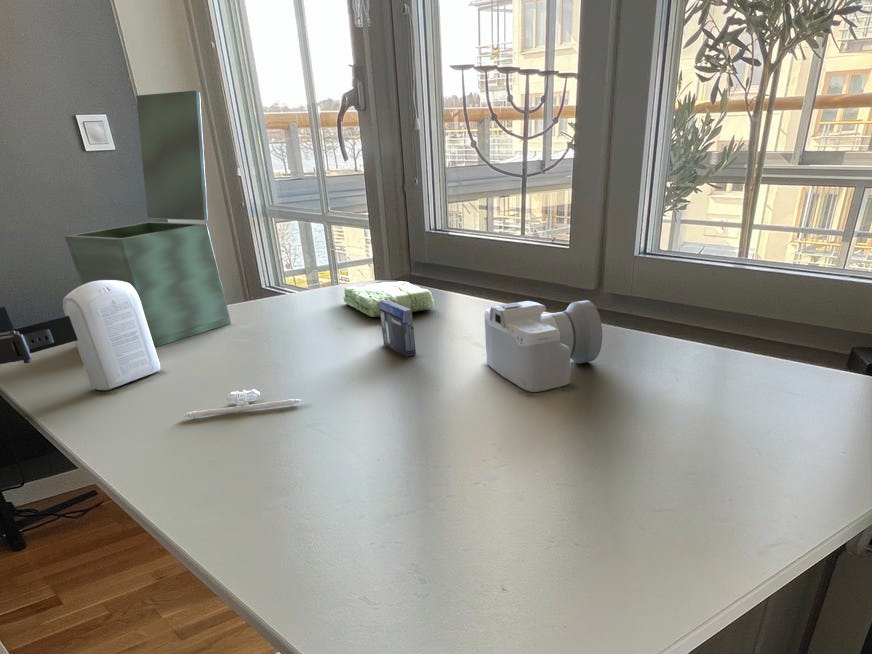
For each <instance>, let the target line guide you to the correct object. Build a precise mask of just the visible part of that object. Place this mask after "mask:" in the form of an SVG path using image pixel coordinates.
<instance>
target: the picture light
mask: <svg viewBox="0 0 872 654" xmlns="http://www.w3.org/2000/svg"><path fill="white" fill-rule="evenodd" d="M260 397H261V392H260V391H257V390H256V389H254V388H252V389H249V390H246V389H243V390H242V391H238V390H236V391H229V394H227V395H226V401H227V402H230V403H231V404H236V406H230V407H229V406H228V407H221V408H213V409H205V410H196V411H195V410H192V411H191V412H190V411H189V412H186V413H185V414H183V418H189V419H191V418H193V419H196V418H201V417H207V416H208V417H209V416H215V415H216V416H217V415H225V414H233V413H240V412H241V413H242V412H249V411H256V410H264V409H265V410H266V409H271V408H280V407H288V406H295V405H298V404H301V403H303V399H297V398H294V399H293V398H290V399H286V400H285V399H284V400H276V401H268V402H261V403H260V402H259V403H252V404H249V402H248V401H253V402H254V401H255V402H256V401H257V400H258V399H259V398H260Z"/></svg>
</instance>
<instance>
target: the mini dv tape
mask: <svg viewBox="0 0 872 654" xmlns="http://www.w3.org/2000/svg"><path fill="white" fill-rule="evenodd" d="M379 317H380V324H381V333H382V340H383V345H384V346H386V347H388V348H390V349H391V350H393V351H395V352H397V353H399V354H401V355H403V356H405V357H410V356H411V357H412V356H416V355H417V350H416V339H415V329H414V321H413V320H414V319H413V312H412V310H411V309H408V308H406V307H404V306H401V305H399V304H397V303H394V302H392V301H389V300H386V301H381V302H380V316H379Z"/></svg>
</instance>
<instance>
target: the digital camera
mask: <svg viewBox="0 0 872 654" xmlns="http://www.w3.org/2000/svg"><path fill="white" fill-rule="evenodd" d="M546 311H547V308H546V305H545V304H541V303H539V302H536V301H532V300H525V301H519V302H518V301H517V302H511V303H504V304H498V305H494V306H491V307H487V308H486V309H485V312H484V317H483V319H484V334H485V335H484V336H485V338H484V339H485V355H486V358H485V359H486V364H487V365H488V366H489V367H490V368H491V369H492V370H493V371H495V372H497V373H498V374H499V375H500V376H502V377H503V378H505V379H507V380H508V381H509V382H511V383H512V384H514V385H516V386H518V387H519V388H521V389H522V390H524V391H527V392H530V393H538V392H544V391H549V390H553V389H557V388H562V387H564V386H568V385H569V384H570V382H571V360H572V361H573V362H574V363H576V364H579V365H580V364H585V363H590V362H593V361H595V360H596V359H597V358H598V357H599V355H600V352H601V349H602V344H603V325H602V320H601V316H600V313H599V311H598V309H597V307H596V305H595V304H594V303H593V302H592V301H591V300H588V299H587V300H579V301H573V302H571V303H570V304H569V305H568V306H567V308H566V310H563V311H558V312H553V313H547V314H543V312H546Z"/></svg>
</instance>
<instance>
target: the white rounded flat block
mask: <svg viewBox="0 0 872 654" xmlns="http://www.w3.org/2000/svg"><path fill="white" fill-rule="evenodd" d="M62 309H63V312H64V316H65V315H66V316H69V317H70V320H71V323H72V325H73V328H74V330H75V333H76V336H77V338H78V340H77V341H74V342H75V346H76V348H77V351H78V353H79V356H80V359H81V362H82V364H83V367H84V370H85V372H86V375H87V378H88V380H89V382H90V384H91V386H92V387H93V388H94V389H96V390H98V391H110V390H112V389H116V388H117V387H120V386H123V385H125V384H128V383H130V382H133V381H136V380H138V379H139V380H140V379H141V378H144V377H147V376H149V375H152V374H155V373H158V372H159V371H160V370H161V364H160V361H159V357H158V353H157V350H156V347H154V344H153V341H152V338H151V334H150V331H149V328H148V325H147V321H146V318H145V315H144V312H143V308H142V305H141V302H140V298H139V296H138V294H137V292H136V290H135V289H134V288H133V287H132V285H130V284H129V283H127V282H123V281H116V280H99V281H93V282H89V283H86V284H84V285H82V284H81V285H79V286H77V287H75V288H74V289H73V290H71V291H70V292H69V293H68V294H66V295H65V296H64V298H63V300H62Z"/></svg>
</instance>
